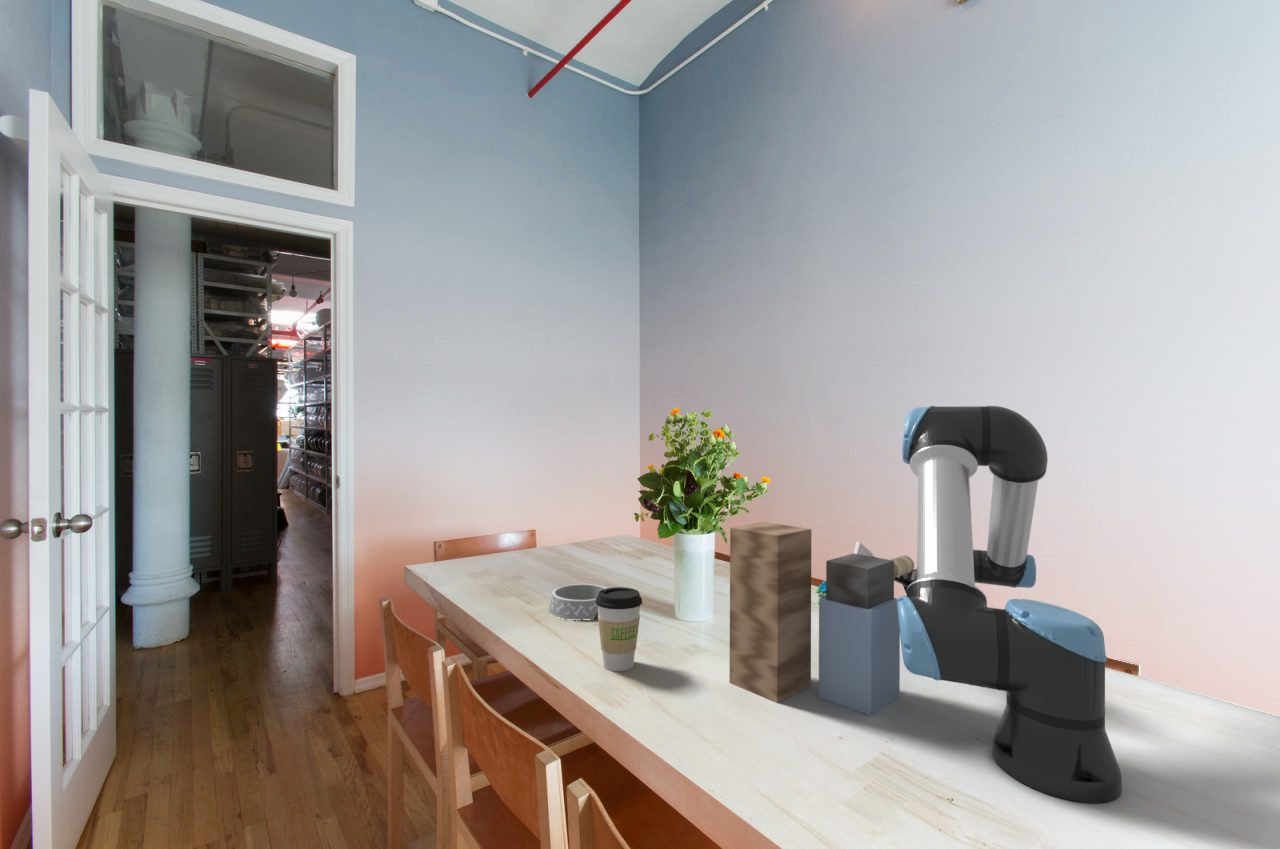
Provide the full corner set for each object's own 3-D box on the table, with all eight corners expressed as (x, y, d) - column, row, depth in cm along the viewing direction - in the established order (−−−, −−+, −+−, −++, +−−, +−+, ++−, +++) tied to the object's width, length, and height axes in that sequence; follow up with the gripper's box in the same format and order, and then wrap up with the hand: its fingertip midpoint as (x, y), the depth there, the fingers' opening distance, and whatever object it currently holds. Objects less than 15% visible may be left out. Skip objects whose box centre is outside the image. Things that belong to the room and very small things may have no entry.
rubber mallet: (925, 585, 116) (925, 550, 116) (867, 609, 100) (867, 568, 100) (886, 577, 122) (886, 544, 122) (826, 598, 106) (826, 560, 106)
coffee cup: (636, 677, 114) (637, 601, 114) (588, 672, 116) (589, 597, 116) (646, 657, 124) (646, 587, 124) (601, 654, 126) (602, 585, 126)
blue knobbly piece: (862, 600, 161) (847, 579, 157) (858, 619, 158) (842, 598, 153) (826, 597, 169) (810, 577, 165) (820, 615, 165) (805, 595, 161)
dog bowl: (627, 609, 158) (628, 590, 158) (578, 626, 144) (578, 605, 144) (585, 597, 169) (585, 579, 169) (534, 612, 155) (535, 592, 155)
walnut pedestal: (810, 685, 111) (811, 529, 111) (777, 702, 104) (777, 535, 104) (763, 667, 119) (764, 522, 119) (729, 682, 112) (730, 527, 112)
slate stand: (899, 697, 106) (899, 599, 106) (870, 716, 99) (871, 611, 99) (848, 679, 114) (849, 587, 114) (818, 696, 106) (819, 598, 107)
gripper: (987, 621, 116) (952, 584, 104) (868, 594, 135) (827, 560, 123) (993, 585, 119) (960, 545, 107) (876, 563, 137) (836, 527, 125)
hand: (889, 553), depth 115 cm, fingers open, 13 cm apart
